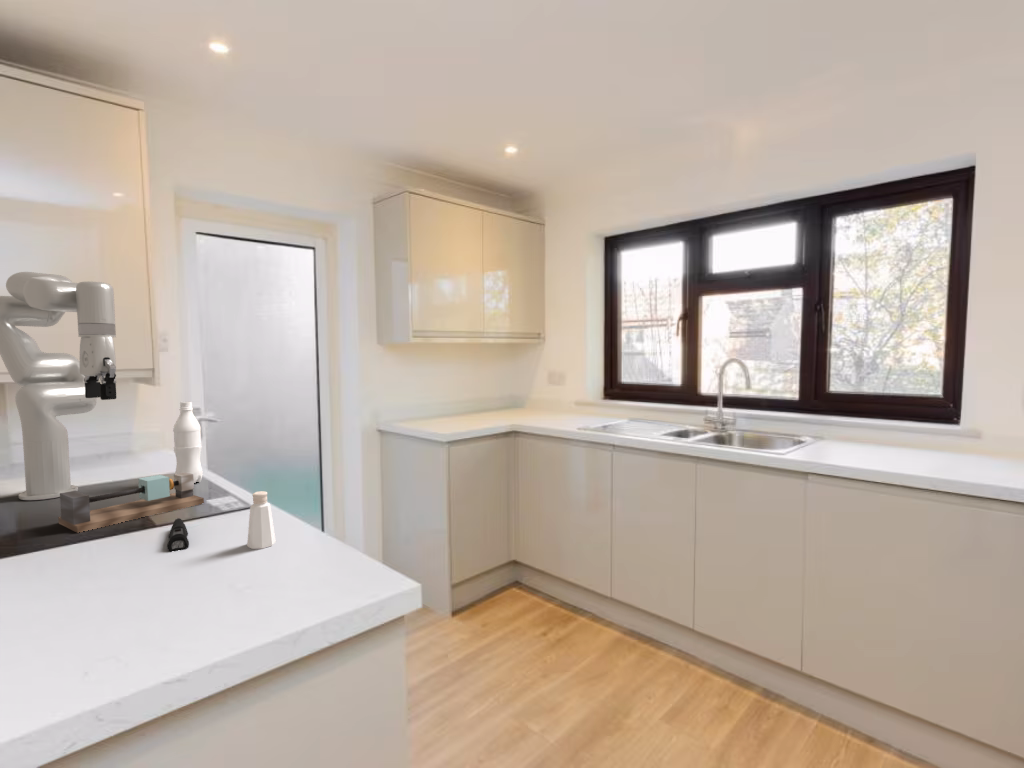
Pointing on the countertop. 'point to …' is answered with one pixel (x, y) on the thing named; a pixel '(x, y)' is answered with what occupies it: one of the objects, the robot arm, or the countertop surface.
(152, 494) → the sleeve
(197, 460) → the water bottle
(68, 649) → the countertop surface
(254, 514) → the pepper shaker
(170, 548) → the electric trimmer
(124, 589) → the countertop surface
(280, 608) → the countertop surface
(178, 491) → the linear slide rail
